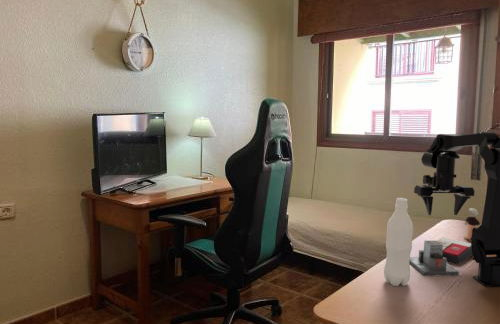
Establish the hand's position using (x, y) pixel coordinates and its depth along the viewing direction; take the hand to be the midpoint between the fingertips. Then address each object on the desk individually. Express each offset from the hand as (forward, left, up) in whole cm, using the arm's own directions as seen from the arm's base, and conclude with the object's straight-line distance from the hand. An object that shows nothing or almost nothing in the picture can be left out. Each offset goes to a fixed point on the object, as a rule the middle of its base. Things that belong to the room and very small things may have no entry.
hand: (442, 214), depth 143 cm
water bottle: (-24, +25, -14) cm, 38 cm away
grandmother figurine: (+14, -20, -14) cm, 28 cm away
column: (-13, +9, -13) cm, 21 cm away
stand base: (-13, +9, -14) cm, 21 cm away
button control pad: (-2, -3, -14) cm, 15 cm away
